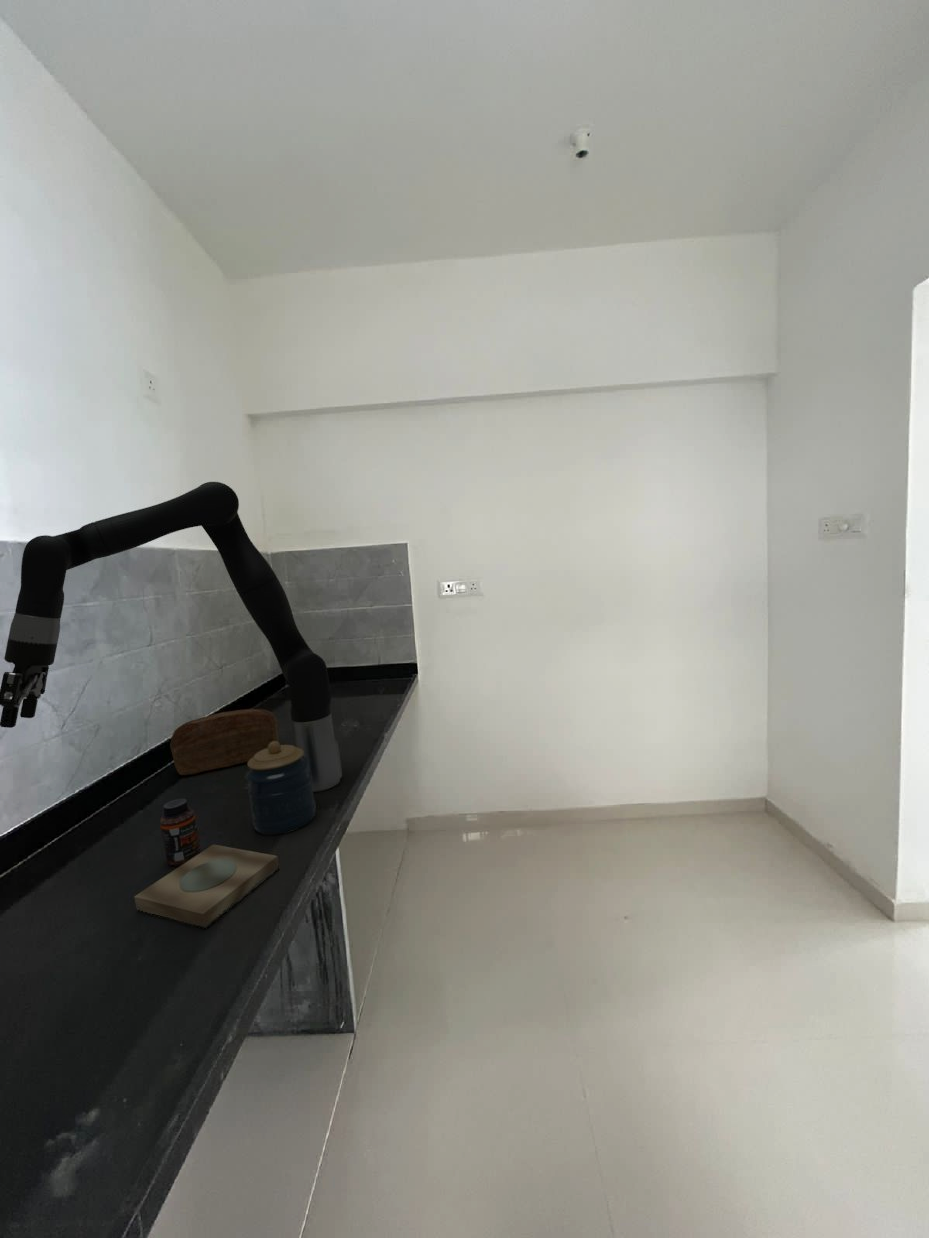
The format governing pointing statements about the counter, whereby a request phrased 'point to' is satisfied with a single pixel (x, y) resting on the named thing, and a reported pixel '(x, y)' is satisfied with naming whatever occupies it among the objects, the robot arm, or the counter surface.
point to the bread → (222, 740)
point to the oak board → (206, 884)
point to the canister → (280, 789)
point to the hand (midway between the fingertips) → (17, 722)
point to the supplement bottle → (179, 832)
